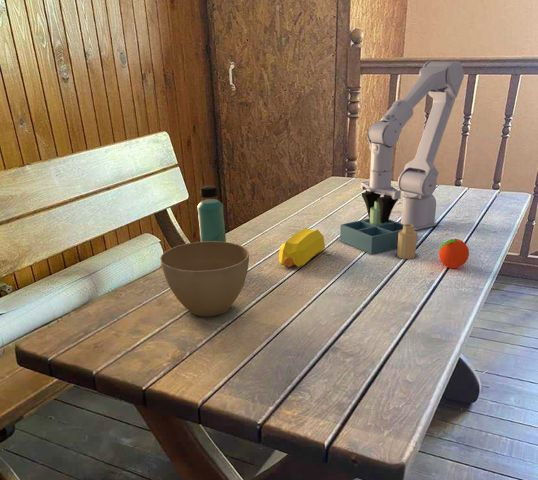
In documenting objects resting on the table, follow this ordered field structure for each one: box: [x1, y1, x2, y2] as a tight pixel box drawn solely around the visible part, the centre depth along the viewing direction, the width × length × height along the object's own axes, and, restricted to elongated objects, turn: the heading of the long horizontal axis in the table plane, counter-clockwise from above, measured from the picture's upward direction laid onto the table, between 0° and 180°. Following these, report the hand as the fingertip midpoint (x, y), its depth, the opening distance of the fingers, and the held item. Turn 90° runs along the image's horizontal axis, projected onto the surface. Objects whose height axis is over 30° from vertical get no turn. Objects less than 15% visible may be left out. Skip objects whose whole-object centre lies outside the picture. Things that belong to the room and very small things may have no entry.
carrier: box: [339, 218, 404, 255], centre depth 158 cm, size 14×14×5 cm
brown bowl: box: [160, 241, 250, 317], centre depth 122 cm, size 18×18×12 cm
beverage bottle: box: [196, 185, 227, 242], centre depth 142 cm, size 6×7×20 cm
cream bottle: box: [396, 224, 418, 260], centre depth 147 cm, size 4×5×8 cm
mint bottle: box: [370, 200, 387, 226], centre depth 160 cm, size 4×5×8 cm
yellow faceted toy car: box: [278, 227, 326, 269], centre depth 148 cm, size 18×7×8 cm
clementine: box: [438, 238, 470, 269], centre depth 139 cm, size 8×7×7 cm
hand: (378, 220), depth 161 cm, fingers closed on mint bottle, 5 cm apart
